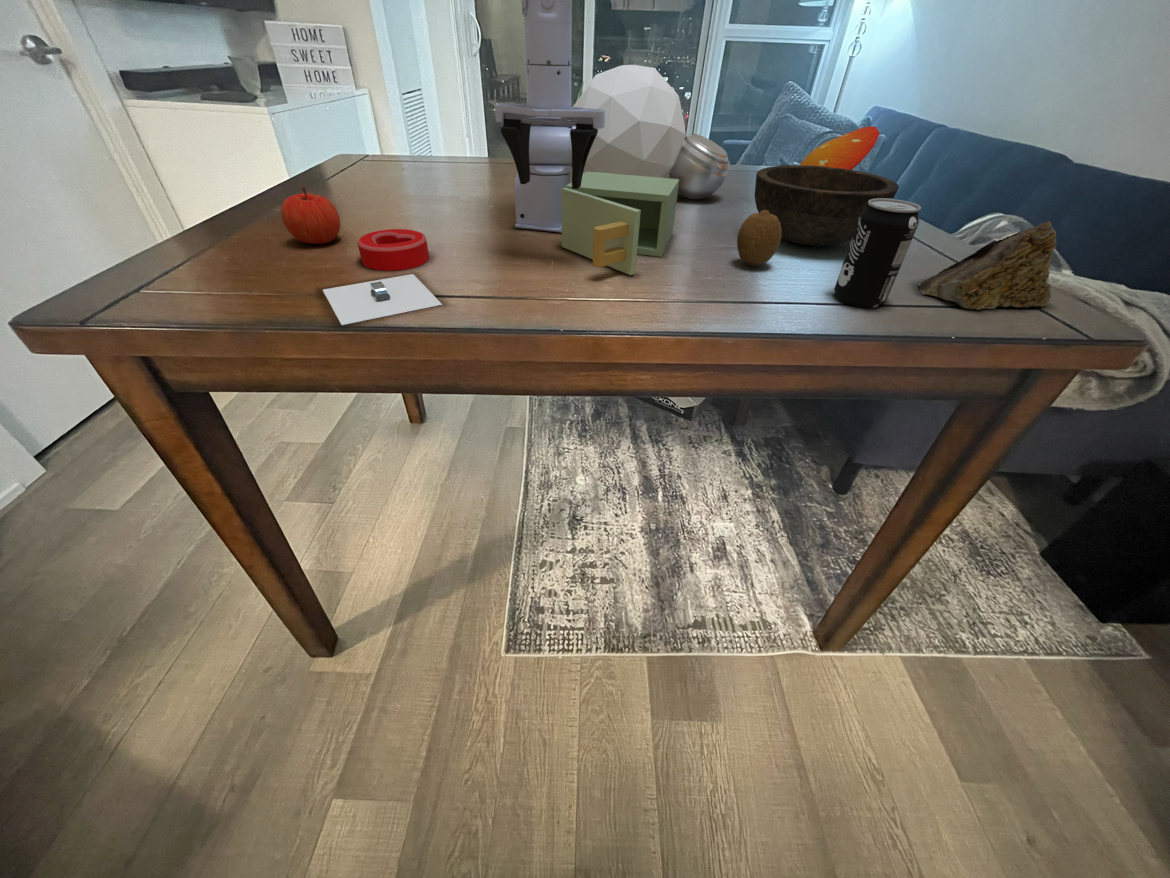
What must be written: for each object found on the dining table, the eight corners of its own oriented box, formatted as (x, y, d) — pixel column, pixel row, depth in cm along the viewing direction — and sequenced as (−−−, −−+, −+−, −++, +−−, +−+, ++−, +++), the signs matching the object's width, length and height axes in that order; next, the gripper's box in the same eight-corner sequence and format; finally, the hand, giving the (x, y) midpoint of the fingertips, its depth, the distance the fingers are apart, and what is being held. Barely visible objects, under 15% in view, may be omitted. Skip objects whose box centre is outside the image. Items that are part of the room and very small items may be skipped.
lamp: (557, 153, 117) (598, 28, 100) (689, 214, 124) (746, 107, 108) (545, 187, 100) (591, 46, 84) (697, 255, 108) (767, 137, 92)
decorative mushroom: (834, 197, 114) (858, 120, 105) (866, 222, 98) (898, 134, 89) (768, 194, 115) (786, 117, 106) (789, 218, 99) (812, 130, 89)
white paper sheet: (341, 325, 58) (337, 312, 57) (322, 289, 65) (318, 278, 65) (442, 304, 63) (440, 293, 62) (413, 273, 71) (411, 263, 70)
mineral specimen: (891, 261, 72) (995, 195, 69) (909, 331, 79) (1004, 274, 76) (953, 287, 62) (1078, 211, 59) (967, 364, 69) (1079, 301, 66)
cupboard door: (603, 283, 69) (606, 217, 64) (535, 253, 78) (532, 192, 73) (635, 274, 72) (641, 210, 67) (566, 245, 82) (566, 187, 76)
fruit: (723, 261, 78) (734, 206, 73) (756, 256, 80) (768, 203, 75) (748, 274, 74) (762, 217, 69) (782, 269, 76) (797, 213, 71)
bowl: (874, 234, 92) (897, 173, 85) (874, 271, 76) (901, 201, 70) (754, 217, 99) (767, 160, 92) (731, 249, 83) (745, 182, 77)
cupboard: (661, 257, 79) (669, 195, 73) (565, 245, 82) (565, 185, 77) (672, 235, 88) (679, 179, 83) (585, 226, 91) (586, 171, 86)
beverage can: (823, 290, 70) (854, 197, 62) (868, 289, 70) (904, 197, 63) (846, 309, 65) (883, 211, 57) (894, 309, 65) (937, 211, 58)
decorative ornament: (354, 270, 71) (348, 248, 69) (372, 248, 79) (367, 227, 77) (422, 270, 72) (418, 248, 70) (434, 249, 79) (430, 228, 77)
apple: (282, 241, 80) (264, 186, 75) (331, 231, 85) (317, 179, 80) (304, 253, 76) (286, 196, 71) (354, 242, 81) (340, 188, 76)
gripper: (480, 63, 60) (491, 186, 69) (596, 68, 57) (592, 196, 66) (503, 62, 66) (510, 176, 74) (610, 66, 63) (605, 185, 71)
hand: (550, 185), depth 70 cm, fingers open, 7 cm apart
